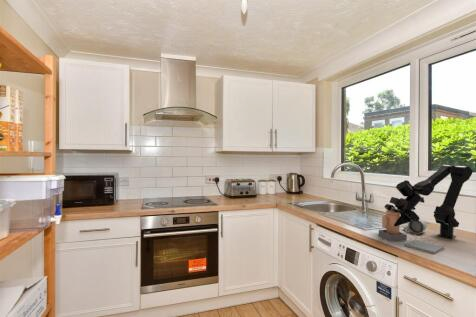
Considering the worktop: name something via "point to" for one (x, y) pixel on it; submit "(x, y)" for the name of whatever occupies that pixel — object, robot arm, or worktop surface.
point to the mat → (424, 246)
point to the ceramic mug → (416, 226)
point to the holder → (393, 236)
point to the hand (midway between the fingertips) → (390, 224)
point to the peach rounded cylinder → (391, 222)
